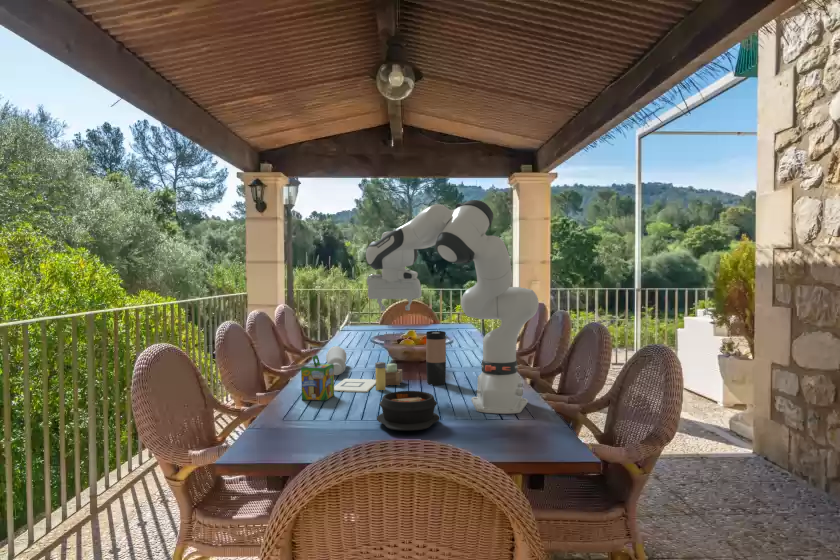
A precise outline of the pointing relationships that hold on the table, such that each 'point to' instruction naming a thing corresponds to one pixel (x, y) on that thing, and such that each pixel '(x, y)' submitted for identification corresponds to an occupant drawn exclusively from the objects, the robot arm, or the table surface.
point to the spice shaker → (380, 375)
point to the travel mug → (436, 357)
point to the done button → (391, 367)
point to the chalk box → (317, 381)
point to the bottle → (337, 359)
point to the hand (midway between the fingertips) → (395, 310)
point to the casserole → (408, 410)
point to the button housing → (393, 377)
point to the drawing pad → (355, 385)
